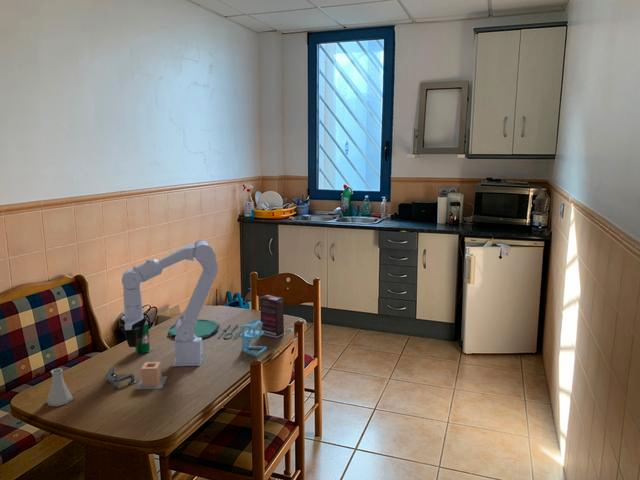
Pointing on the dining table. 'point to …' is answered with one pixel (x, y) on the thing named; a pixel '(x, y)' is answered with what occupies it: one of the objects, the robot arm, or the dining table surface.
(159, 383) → the mat
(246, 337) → the chair
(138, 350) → the soda can
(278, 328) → the supplement box
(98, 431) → the dining table surface
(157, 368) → the pink block with hole
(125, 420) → the dining table surface
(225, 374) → the dining table surface
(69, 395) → the flask
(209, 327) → the cutlery set
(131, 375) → the bent jointed bar linkage
